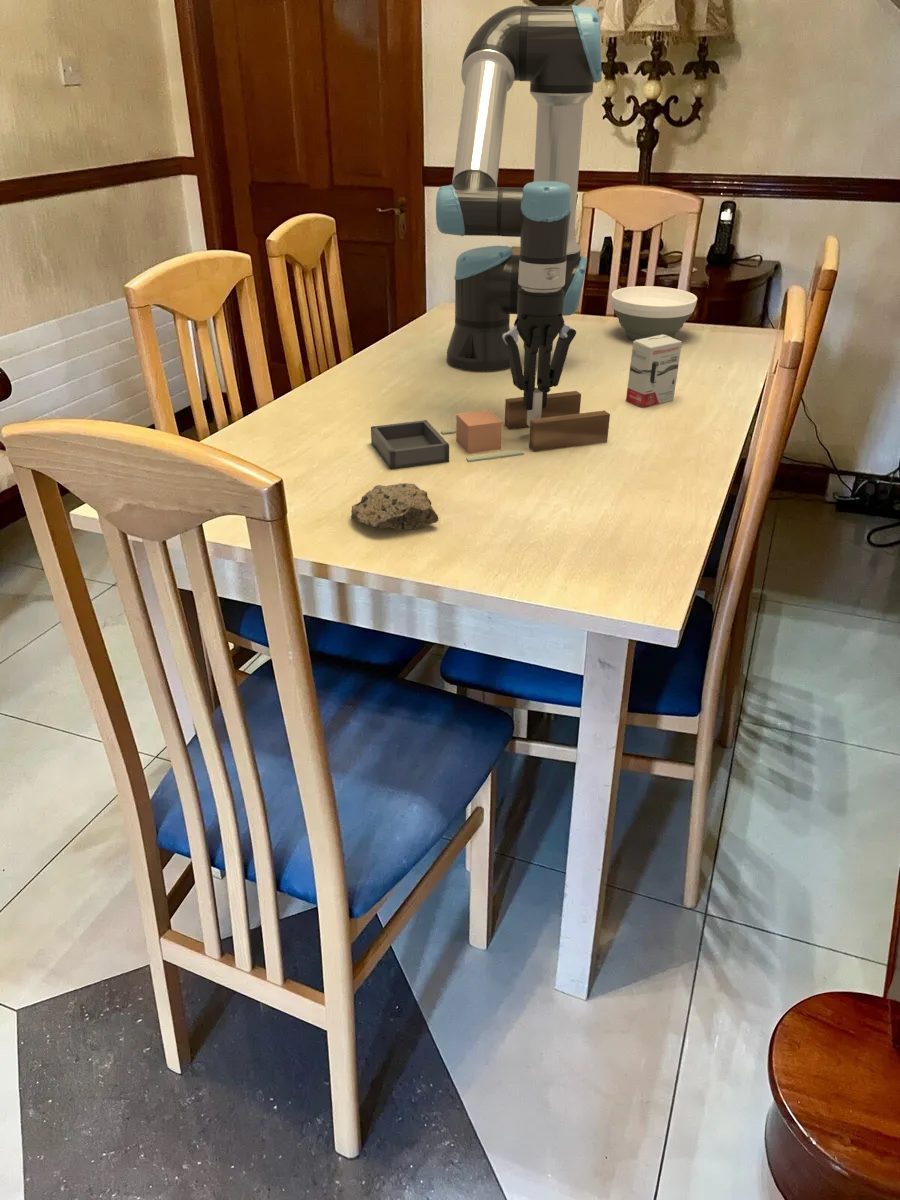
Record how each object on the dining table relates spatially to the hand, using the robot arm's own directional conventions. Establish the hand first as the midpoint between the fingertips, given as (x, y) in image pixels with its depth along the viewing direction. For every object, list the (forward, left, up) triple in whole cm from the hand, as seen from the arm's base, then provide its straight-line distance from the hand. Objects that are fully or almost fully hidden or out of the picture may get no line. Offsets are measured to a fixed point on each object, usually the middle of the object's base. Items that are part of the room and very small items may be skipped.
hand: (533, 426), depth 159 cm
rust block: (+1, -11, -2) cm, 11 cm away
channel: (0, +4, -2) cm, 5 cm away
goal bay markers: (0, -10, -2) cm, 10 cm away
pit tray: (0, -23, -2) cm, 23 cm away
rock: (+23, -32, -2) cm, 40 cm away
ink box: (-10, +29, -2) cm, 31 cm away
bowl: (-50, +52, -2) cm, 72 cm away
